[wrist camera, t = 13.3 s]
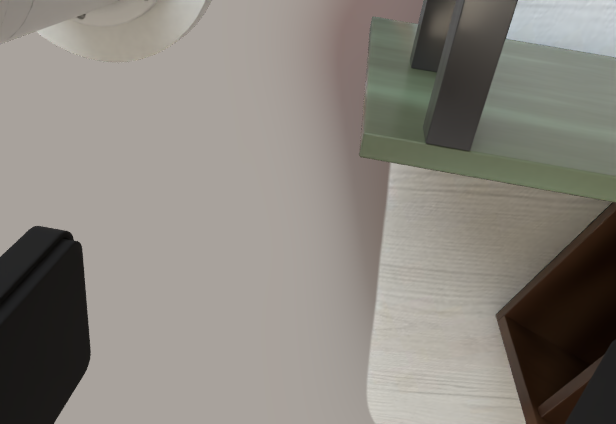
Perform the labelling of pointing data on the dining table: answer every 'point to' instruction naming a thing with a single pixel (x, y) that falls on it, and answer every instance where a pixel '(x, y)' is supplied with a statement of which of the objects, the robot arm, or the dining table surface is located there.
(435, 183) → the dining table surface
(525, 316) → the cabinet
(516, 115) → the cabinet door
